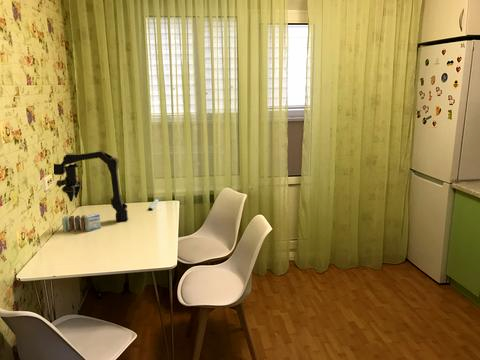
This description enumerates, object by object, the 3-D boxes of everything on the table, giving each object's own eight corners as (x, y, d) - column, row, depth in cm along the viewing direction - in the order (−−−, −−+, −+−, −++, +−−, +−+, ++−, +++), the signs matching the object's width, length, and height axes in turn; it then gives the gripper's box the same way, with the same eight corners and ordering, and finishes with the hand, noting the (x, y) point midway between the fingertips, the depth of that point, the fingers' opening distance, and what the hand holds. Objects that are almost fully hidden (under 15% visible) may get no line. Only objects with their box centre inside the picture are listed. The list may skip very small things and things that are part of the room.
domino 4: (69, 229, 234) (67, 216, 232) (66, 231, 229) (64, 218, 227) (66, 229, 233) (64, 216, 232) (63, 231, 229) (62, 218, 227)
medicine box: (89, 231, 228) (87, 217, 226) (84, 230, 231) (83, 216, 229) (101, 228, 234) (99, 214, 233) (96, 226, 237) (95, 213, 235)
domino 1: (86, 228, 235) (85, 215, 233) (84, 231, 230) (83, 217, 228) (84, 228, 234) (82, 215, 233) (81, 231, 230) (80, 217, 228)
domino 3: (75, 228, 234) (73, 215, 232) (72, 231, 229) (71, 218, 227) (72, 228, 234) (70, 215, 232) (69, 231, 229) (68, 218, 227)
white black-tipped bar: (152, 212, 268) (152, 207, 267) (143, 212, 267) (142, 207, 267) (159, 203, 290) (158, 199, 289) (149, 203, 290) (149, 199, 289)
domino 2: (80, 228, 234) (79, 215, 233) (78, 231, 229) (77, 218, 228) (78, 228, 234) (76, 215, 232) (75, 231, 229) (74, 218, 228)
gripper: (62, 172, 247) (65, 196, 250) (51, 178, 229) (54, 204, 232) (80, 171, 248) (83, 195, 251) (71, 177, 230) (74, 203, 233)
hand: (73, 199), depth 242 cm, fingers open, 9 cm apart
